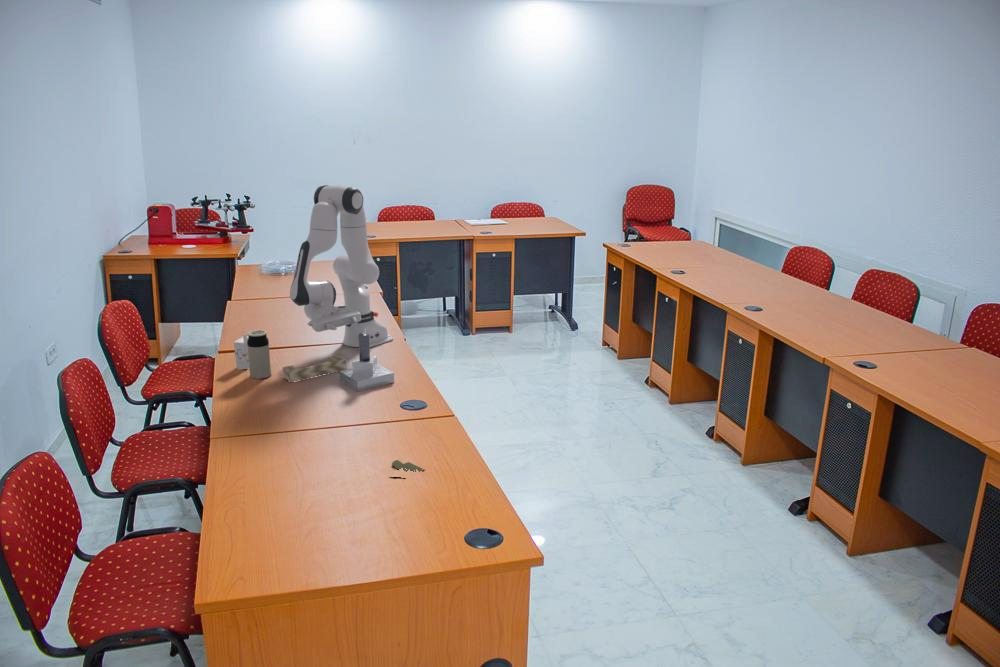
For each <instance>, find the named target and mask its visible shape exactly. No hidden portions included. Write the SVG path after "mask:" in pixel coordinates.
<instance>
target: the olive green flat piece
mask: <svg viewBox="0 0 1000 667" xmlns="http://www.w3.org/2000/svg"><path fill="white" fill-rule="evenodd" d="M391 465H392V466H393V467H394V468H395V469H396V468H397V469H401V468H403V470H404V471H406V472H407V471H408V470H409V469H410V471H413V472H414V470H415V472H416V469H417V470H418V471H419V472H420V471H423V472H424V470H422V469H423V468H422V467H420V466H418V465H415V464H413V463H411V462H410V461H408V462H405V463H403V462H401V461H400V460H398V459H396V460H393V461H392V463H391ZM405 468H406V469H407V470H406V469H405Z"/></svg>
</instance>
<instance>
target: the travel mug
mask: <svg viewBox="0 0 1000 667" xmlns="http://www.w3.org/2000/svg"><path fill="white" fill-rule="evenodd" d="M252 330H253V331H252ZM252 330H250V331H248V332H247V335H248V337H249V338H248V340H247V345H248V357H249V376H250V377H249V378H252V379H254V378H255V380H259V379H260V380H262V378H264V379H266V378H269V377H270V376H272V369H271V359H270V358H271V355H270V344H269V338H268V337H267V334H268V331H267V330H265V329H255V330H254V329H252Z"/></svg>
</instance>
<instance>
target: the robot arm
mask: <svg viewBox="0 0 1000 667" xmlns="http://www.w3.org/2000/svg"><path fill="white" fill-rule="evenodd" d="M313 194H314V195H313V203H314V205H313V207H312V210H311V215H310V220H309V231H308V235H307V238H306V240H305V241H303V242H302V243H301V245H300V248H299V252H298V256H297V262H296V266H295V270H294V277H293V280H292V284H291V286H290V290H289V297H290V300H292V302H293V303H294V304H295V305H296V306H297V307H298V306H299V307H301V306H303V311H304V314H305V316H306V317H307V318H308V319H309V320H310V321H309V322H307V326H309V327H311V328H312V330H313V331H314V332H316V333H318V332H319V333H321V332H324V331H329V330H331V331H336V330H337V328H339V327H344V335H343V340H342V344H343V345H344V346H347V347H354V348H359V334H360V333H368V334H369V345H370V348H372V347H376V346H378V345H382V344H385V343H388V342H392V341H394V338H393V336H392V335H391V334H389V332H388V330H387V327H386V326H385V324H383V323H382V322H381V321H379V320H377V319H376V318H377V317H378V316H379V313H378V312H377V311H373V310H371V300H370V299H371V297H370V293H369V291H368V290H367V288H366V286H365V285H373V284H374V283H375V282H377V280H378V279H379V277H380V268H379V266H378V265H377V264H376V262H375V260H374V258H373V256H372V253H371V250H370V247H369V243H368V232H367V231H368V230H367V219H366V213H365V208H364V197H363V196H364V195H363V193H362V192H361V190H360V189H358V188H356V187H353V186H346V185H338V184H337V185H327V184H325V185H320V186H318V187H317V188H316V189H315V191H314V193H313ZM338 215H339V229H340V243H341V245H342V247H343V248H344V250H345V252H346V254H341V255H338V256H337V257H336V258H335V259H334V261H333V264H332V268H333V269H332V270H333V271H334V274H336V276H337V278H338V281H339V282H340V286H341V288H342V293H343V297H344V298H343V299H344V300H343V301H344V305H340V306H339V305H338V306H336V305H335V303H336V300H337V290H336V287H335V286H334V284H333V283H332V282H331V281H329V280H307V279H308V275H309V271H310V265H311V261H312V260H313V259H314V258H315V257H316V256H318V255H321V254H323V253H325V252H328V251H329V250H332V248H333V247H334V246H335V245H336V243H337V241H338V240H337V239H338ZM334 305H335V306H334ZM375 317H376V318H375Z"/></svg>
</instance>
